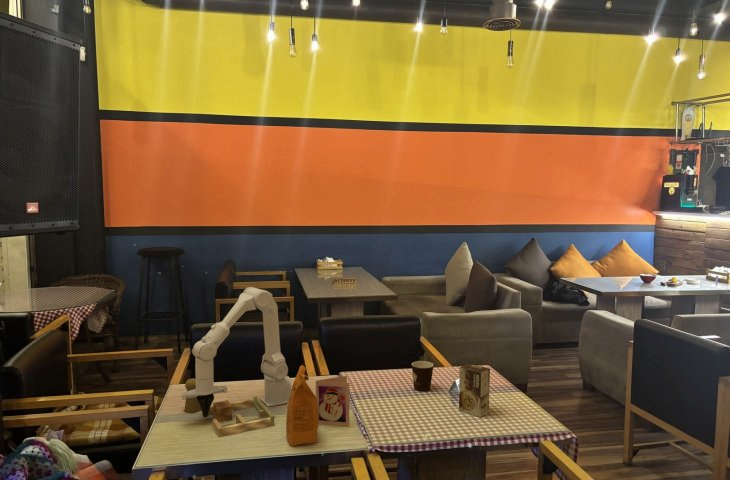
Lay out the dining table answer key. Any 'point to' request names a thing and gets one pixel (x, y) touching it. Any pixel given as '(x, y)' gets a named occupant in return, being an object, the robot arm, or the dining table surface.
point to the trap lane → (241, 426)
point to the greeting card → (333, 401)
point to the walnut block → (222, 411)
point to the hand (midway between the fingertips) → (205, 416)
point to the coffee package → (301, 412)
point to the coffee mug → (422, 375)
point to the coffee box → (474, 389)
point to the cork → (191, 403)
